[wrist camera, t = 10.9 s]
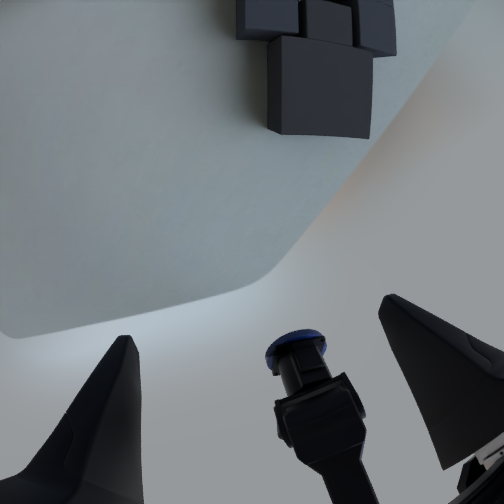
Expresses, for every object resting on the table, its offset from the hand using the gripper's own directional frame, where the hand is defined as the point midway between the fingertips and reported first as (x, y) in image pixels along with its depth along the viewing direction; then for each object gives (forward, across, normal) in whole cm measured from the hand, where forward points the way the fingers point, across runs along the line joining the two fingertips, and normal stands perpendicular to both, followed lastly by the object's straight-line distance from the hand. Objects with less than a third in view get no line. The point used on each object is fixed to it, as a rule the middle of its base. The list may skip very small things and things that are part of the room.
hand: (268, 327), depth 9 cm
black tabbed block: (+12, -6, -9) cm, 16 cm away
